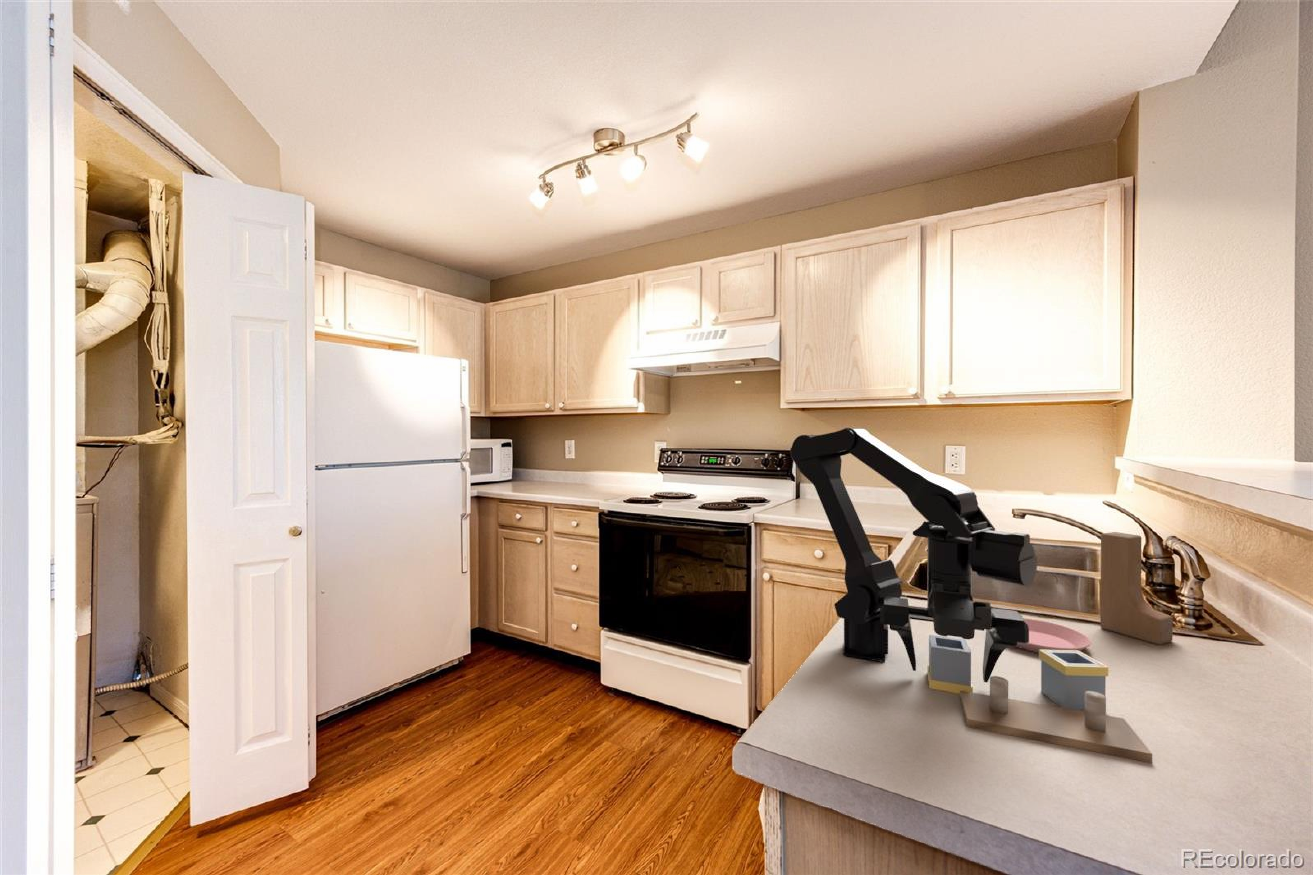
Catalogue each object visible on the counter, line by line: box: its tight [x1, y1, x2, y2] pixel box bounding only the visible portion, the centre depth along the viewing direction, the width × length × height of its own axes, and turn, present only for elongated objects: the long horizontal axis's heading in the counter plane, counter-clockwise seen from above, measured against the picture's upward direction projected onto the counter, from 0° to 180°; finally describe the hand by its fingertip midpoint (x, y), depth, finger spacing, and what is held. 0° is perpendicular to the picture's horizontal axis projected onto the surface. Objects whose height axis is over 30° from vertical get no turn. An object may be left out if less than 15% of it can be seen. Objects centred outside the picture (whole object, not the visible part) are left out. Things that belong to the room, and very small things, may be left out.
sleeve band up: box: [1038, 650, 1109, 712], centre depth 73 cm, size 5×5×6 cm
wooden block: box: [1099, 531, 1174, 646], centre depth 96 cm, size 9×4×18 cm, turn 24°
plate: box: [1016, 617, 1091, 654], centre depth 93 cm, size 14×14×2 cm
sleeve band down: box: [926, 634, 974, 694], centre depth 78 cm, size 5×5×6 cm
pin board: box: [959, 675, 1153, 764], centre depth 66 cm, size 18×8×5 cm, turn 66°
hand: (948, 675), depth 78 cm, fingers open, 9 cm apart
